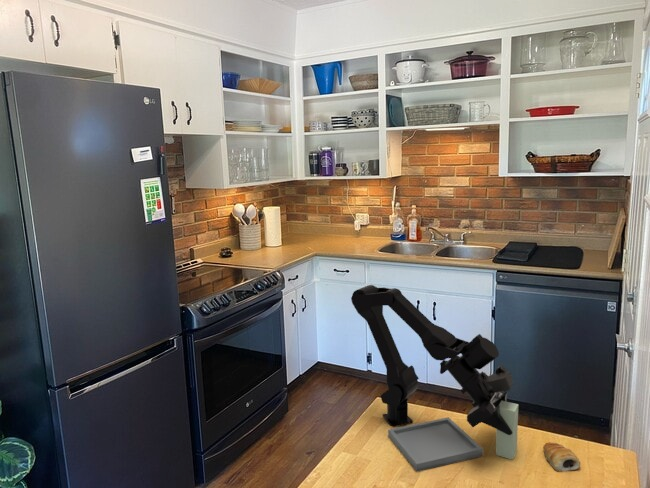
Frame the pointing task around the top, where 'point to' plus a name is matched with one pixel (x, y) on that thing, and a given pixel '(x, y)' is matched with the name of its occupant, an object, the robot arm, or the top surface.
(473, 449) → the tray
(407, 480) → the top surface
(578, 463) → the pastry
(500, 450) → the block
